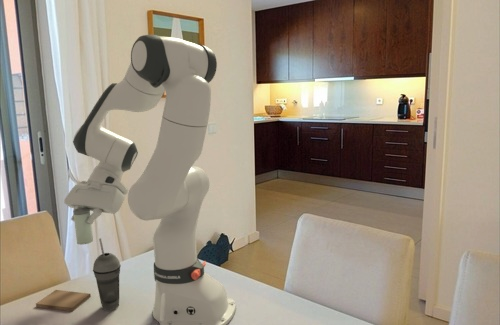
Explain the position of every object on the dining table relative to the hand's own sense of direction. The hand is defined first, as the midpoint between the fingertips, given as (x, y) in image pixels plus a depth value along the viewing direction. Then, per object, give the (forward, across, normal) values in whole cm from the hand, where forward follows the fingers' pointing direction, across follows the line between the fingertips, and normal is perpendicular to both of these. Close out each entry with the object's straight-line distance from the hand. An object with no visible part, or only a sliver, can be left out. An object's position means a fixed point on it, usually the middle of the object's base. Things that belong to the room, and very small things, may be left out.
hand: (81, 222), depth 120 cm
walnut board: (+21, 0, +9) cm, 23 cm away
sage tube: (+4, 0, +5) cm, 6 cm away
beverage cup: (+19, +14, +12) cm, 26 cm away
